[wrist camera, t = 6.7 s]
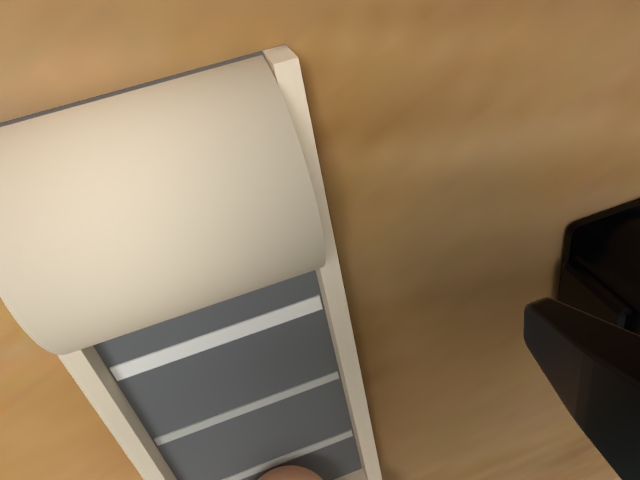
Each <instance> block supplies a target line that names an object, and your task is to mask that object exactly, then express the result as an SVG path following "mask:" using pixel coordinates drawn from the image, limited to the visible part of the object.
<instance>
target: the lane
mask: <svg viewBox="0 0 640 480" xmlns="http://www.w3.org/2000/svg"><path fill="white" fill-rule="evenodd" d="M0 297H1V299H2V300H3V302H4V304H5V305H6V307H7V308H8V310H9V311H10V313H11V314H12V316H13V317H14V319H15V320H16V321H17V322H18V324H19V325H20V326H21V328H22V329H23V330H24V331H25V332H26V333H27V334H28V335H29V336H30V338H31V339H32V340H33V341H35V342H36V343H37V344H38V345H39V346H41V347H42V348H44V349H45V350H47V351H48V352H51V353H53V354H56V355H57V356H58V357H59V358H60V360H61V361H62V363H63V364H64V366H65V367H66V368H67V370H68V371H69V373H70V374H71V376H72V377H73V379H74V380H75V381H76V383H77V384H78V386H79V387H80V389H81V390H82V391H83V393H84V394H85V396H86V397H87V399H88V400H89V402H90V403H91V404H92V406H93V407H94V409H95V410H96V412H97V413H98V414H99V416H100V417H101V419H102V420H103V422H104V423H105V425H106V426H107V427H108V429H109V430H110V432H111V433H112V435H113V436H114V437H115V439H116V440H117V442H118V443H119V445H120V446H121V448H122V449H123V450H124V452H125V453H126V455H127V456H128V458H129V459H130V460H131V462H132V463H133V465H134V466H135V468H136V469H137V471H138V472H139V473H140V475H141V476H142V478H143V479H144V480H258V479H259V478H260V477H261V476H262V475H264V474H265V473H267V472H268V471H270V470H272V469H275V468H277V467H281V466H289V465H293V466H300V467H304V468H306V469H309V470H311V471H313V472H314V473H316V474H317V475H318V476H320V477H321V478H322V479H323V480H382V476H381V471H380V466H379V461H378V456H377V451H376V446H375V441H374V436H373V431H372V426H371V421H370V416H369V411H368V406H367V401H366V396H365V391H364V386H363V381H362V376H361V371H360V366H359V361H358V355H357V350H356V345H355V340H354V335H353V330H352V325H351V320H350V315H349V310H348V305H347V300H346V295H345V290H344V285H343V280H342V275H341V270H340V265H339V260H338V255H337V250H336V245H335V240H334V235H333V230H332V225H331V220H330V215H329V210H328V205H327V200H326V195H325V190H324V185H323V179H322V174H321V169H320V164H319V159H318V154H317V149H316V144H315V139H314V134H313V129H312V124H311V119H310V114H309V109H308V104H307V99H306V94H305V89H304V84H303V79H302V74H301V69H300V64H299V59H298V57H297V56H296V55H295V54H294V53H293V52H292V51H291V50H290V49H289V48H288V47H287V46H286V45H282V46H278V47H274V48H271V49H267V50H263V51H260V52H256V53H253V54H249V55H245V56H242V57H238V58H234V59H231V60H227V61H224V62H220V63H216V64H213V65H209V66H205V67H202V68H198V69H194V70H191V71H187V72H184V73H180V74H176V75H173V76H169V77H165V78H162V79H158V80H155V81H151V82H147V83H144V84H140V85H136V86H133V87H129V88H126V89H122V90H118V91H115V92H111V93H107V94H104V95H100V96H96V97H93V98H89V99H86V100H82V101H78V102H75V103H71V104H67V105H64V106H60V107H57V108H53V109H49V110H46V111H42V112H38V113H35V114H31V115H27V116H24V117H20V118H17V119H13V120H9V121H6V122H2V123H0Z"/></svg>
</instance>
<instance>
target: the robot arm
mask: <svg viewBox="0 0 640 480" xmlns="http://www.w3.org/2000/svg"><path fill="white" fill-rule="evenodd" d="M524 340H525V343H526V345H527V347H528V349H529V350H530V352H531V353H532V355H533V357H534V358H535V360H536V361H537V363H538V364H539V366H540V367H541V369H542V371H543V372H544V374H545V375H546V377H547V378H548V380H549V382H550V383H551V385H552V386H553V388H554V389H555V391H556V392H557V394H558V396H559V397H560V399H561V400H562V402H563V403H564V405H565V407H566V408H567V410H568V411H569V413H570V414H571V416H572V417H573V418H574V420H575V421H576V423H577V424H578V425H579V426H580V428H581V429H582V430H583V432H584V433H585V434H586V435H587V437H588V438H589V439H590V440H591V442H592V443H593V444H594V445H595V447H596V448H597V449H598V450H599V452H600V453H601V454H602V455H603V457H604V458H605V459H606V460H607V462H608V463H609V464H610V465H611V467H612V468H613V469H614V470H615V472H616V473H617V474H618V475H619V477H620V478H621V479H622V480H640V199H638V200H635V201H632V202H629V203H627V204H624V205H621V206H618V207H615V208H612V209H610V210H607V211H604V212H601V213H598V214H595V215H593V216H590V217H587V218H584V219H581V220H578V221H576V222H574V223H572V224H571V225H570V226H569V227H568V229H567V231H566V237H565V245H564V254H563V262H562V270H561V278H560V287H559V295H558V301H557V300H554V299H552V298H541V299H539V300H536V301H534V302H531V303H529V304H527V305H526V307H525V309H524Z"/></svg>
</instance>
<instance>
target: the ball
mask: <svg viewBox="0 0 640 480" xmlns="http://www.w3.org/2000/svg"><path fill="white" fill-rule="evenodd" d="M258 480H323V479H322V478H321V477H320V476H318V475H317V474H316V473H314V472H313V471H311V470H309V469H306V468H304V467H300V466H293V465H289V466H281V467H277V468H275V469H272V470H270V471H268V472H267V473H265V474H264V475H262V476H261V477H260V478H259V479H258Z"/></svg>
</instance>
